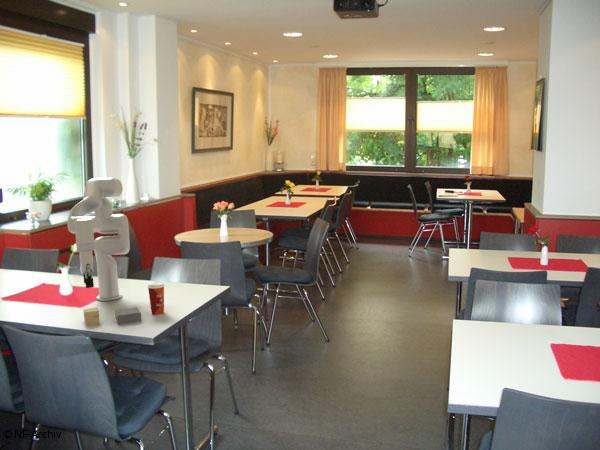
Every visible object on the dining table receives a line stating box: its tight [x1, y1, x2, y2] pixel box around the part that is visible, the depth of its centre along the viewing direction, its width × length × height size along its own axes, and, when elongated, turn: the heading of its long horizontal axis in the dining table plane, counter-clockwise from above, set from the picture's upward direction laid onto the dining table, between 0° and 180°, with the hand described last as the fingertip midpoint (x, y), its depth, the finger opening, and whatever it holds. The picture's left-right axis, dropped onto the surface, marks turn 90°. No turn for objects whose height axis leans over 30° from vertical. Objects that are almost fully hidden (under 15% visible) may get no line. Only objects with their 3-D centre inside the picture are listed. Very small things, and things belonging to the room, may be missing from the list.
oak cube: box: [83, 306, 101, 326], centre depth 281 cm, size 6×6×6 cm
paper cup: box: [147, 281, 165, 316], centre depth 291 cm, size 8×8×14 cm
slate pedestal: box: [114, 306, 142, 325], centre depth 283 cm, size 10×10×4 cm
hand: (88, 285), depth 278 cm, fingers open, 9 cm apart
